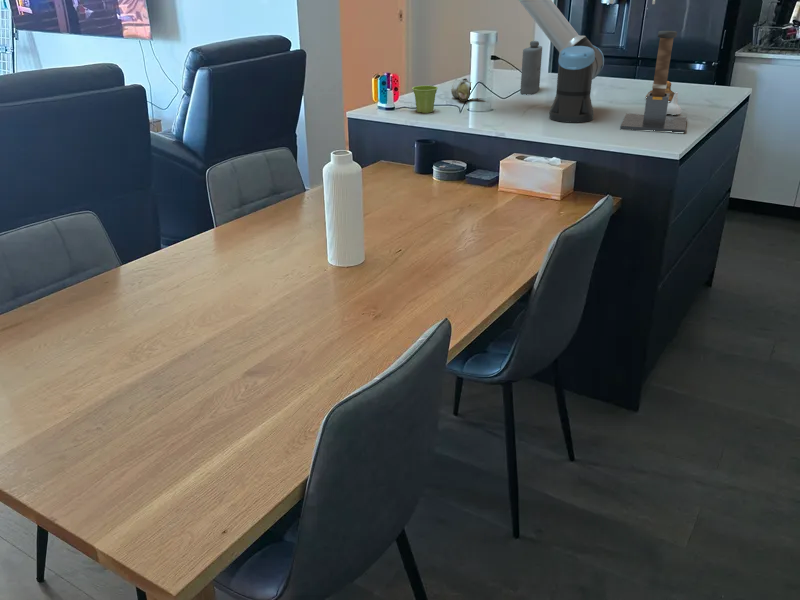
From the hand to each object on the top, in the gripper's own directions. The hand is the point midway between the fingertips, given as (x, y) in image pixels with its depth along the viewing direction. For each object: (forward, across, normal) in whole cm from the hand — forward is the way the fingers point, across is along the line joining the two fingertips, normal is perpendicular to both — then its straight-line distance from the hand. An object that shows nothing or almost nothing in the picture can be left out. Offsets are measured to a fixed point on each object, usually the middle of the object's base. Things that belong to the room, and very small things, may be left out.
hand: (632, 3), depth 235 cm
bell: (+37, +13, +32) cm, 51 cm away
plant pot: (+37, -68, -17) cm, 79 cm away
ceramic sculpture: (+37, -60, +9) cm, 71 cm away
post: (+29, +13, -14) cm, 34 cm away
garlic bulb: (+37, +18, +5) cm, 41 cm away
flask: (+37, -39, +34) cm, 64 cm away
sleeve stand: (+37, +13, -14) cm, 41 cm away
